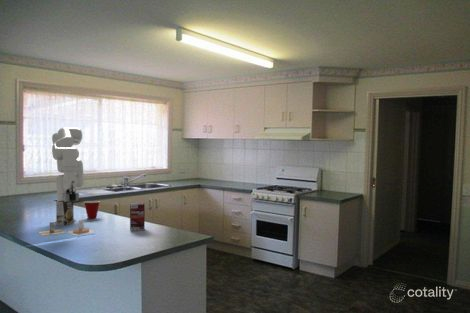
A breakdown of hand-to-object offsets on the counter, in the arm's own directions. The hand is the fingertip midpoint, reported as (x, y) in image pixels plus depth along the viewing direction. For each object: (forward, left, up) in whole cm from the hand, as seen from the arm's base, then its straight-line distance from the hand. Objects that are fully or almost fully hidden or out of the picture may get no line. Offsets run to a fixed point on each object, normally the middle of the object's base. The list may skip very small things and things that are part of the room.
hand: (70, 199), depth 214 cm
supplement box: (+16, +33, -20) cm, 42 cm away
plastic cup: (-39, +26, -20) cm, 51 cm away
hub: (+3, +4, -20) cm, 21 cm away
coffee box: (-26, +5, -20) cm, 33 cm away
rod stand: (-7, -9, -20) cm, 23 cm away
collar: (0, 0, 0) cm, 0 cm away
